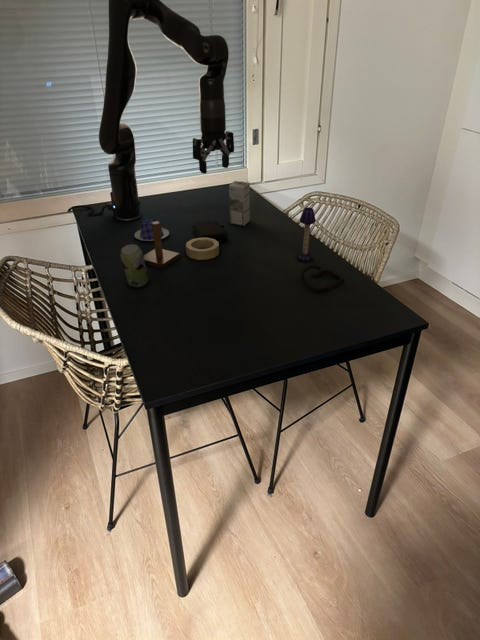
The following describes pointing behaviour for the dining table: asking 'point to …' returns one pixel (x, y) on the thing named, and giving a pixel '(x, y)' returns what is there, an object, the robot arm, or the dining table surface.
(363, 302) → the dining table surface
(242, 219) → the syrup box
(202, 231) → the carrying case
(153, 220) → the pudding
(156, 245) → the peg stand
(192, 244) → the tape roll
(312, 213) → the purple spotted mushroom
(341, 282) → the metal loop
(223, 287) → the dining table surface
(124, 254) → the beverage can
